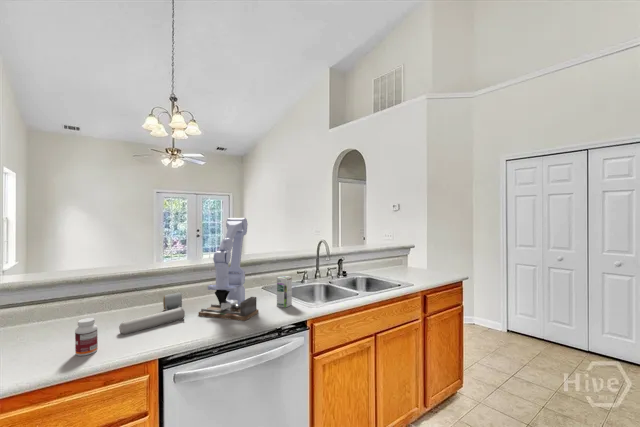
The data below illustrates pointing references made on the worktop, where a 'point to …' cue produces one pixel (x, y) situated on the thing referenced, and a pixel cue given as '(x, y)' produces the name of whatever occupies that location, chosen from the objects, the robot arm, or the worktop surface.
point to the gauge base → (242, 314)
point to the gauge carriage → (230, 305)
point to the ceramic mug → (172, 301)
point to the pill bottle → (86, 337)
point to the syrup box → (284, 291)
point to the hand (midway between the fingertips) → (222, 306)
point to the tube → (151, 320)
